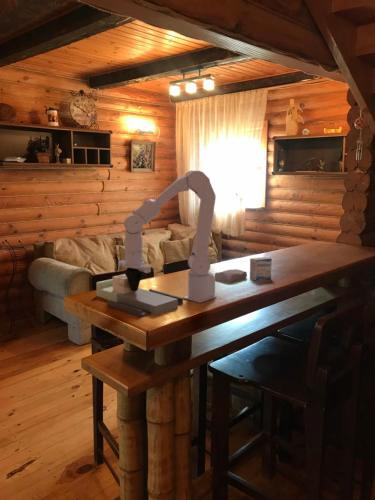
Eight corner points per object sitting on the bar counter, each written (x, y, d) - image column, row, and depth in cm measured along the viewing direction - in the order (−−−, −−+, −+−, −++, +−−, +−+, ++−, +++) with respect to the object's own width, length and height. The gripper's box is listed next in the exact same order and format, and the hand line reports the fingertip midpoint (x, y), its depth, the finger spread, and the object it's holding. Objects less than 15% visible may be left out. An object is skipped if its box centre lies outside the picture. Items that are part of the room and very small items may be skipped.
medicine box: (255, 280, 176) (256, 260, 174) (249, 278, 180) (249, 258, 178) (271, 278, 179) (272, 258, 177) (265, 276, 183) (265, 256, 181)
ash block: (126, 287, 154) (126, 273, 153) (137, 290, 150) (137, 276, 149) (112, 290, 150) (112, 276, 149) (123, 293, 146) (123, 279, 145)
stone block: (212, 284, 178) (231, 283, 170) (211, 272, 178) (229, 271, 170) (230, 280, 186) (249, 279, 179) (229, 269, 186) (247, 268, 179)
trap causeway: (128, 288, 164) (128, 275, 163) (187, 304, 144) (187, 290, 143) (86, 298, 150) (85, 284, 150) (144, 318, 130) (144, 303, 129)
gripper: (110, 249, 146) (111, 288, 149) (138, 255, 137) (139, 296, 139) (126, 247, 151) (127, 284, 154) (155, 252, 142) (155, 292, 144)
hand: (134, 290), depth 147 cm, fingers closed
